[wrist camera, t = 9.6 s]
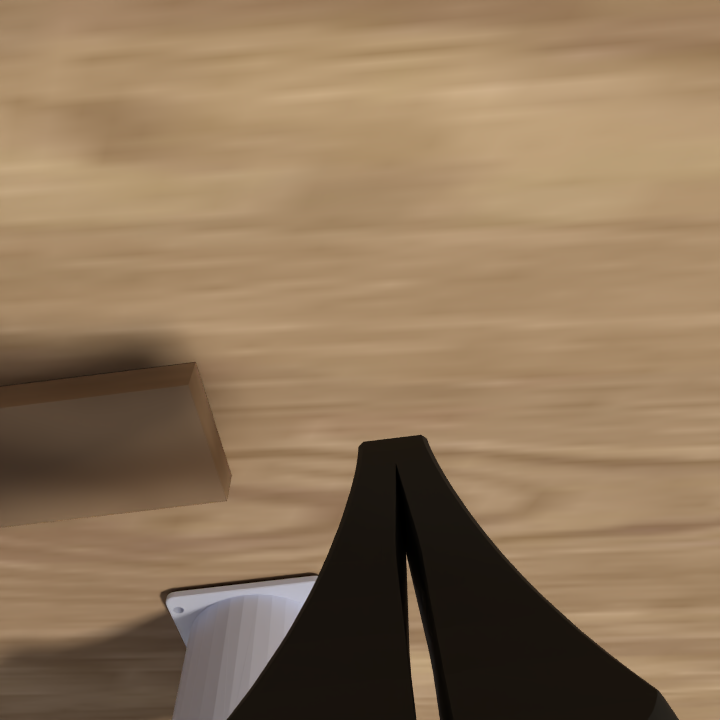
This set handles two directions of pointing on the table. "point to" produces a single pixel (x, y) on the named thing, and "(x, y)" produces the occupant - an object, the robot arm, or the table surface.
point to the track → (108, 446)
